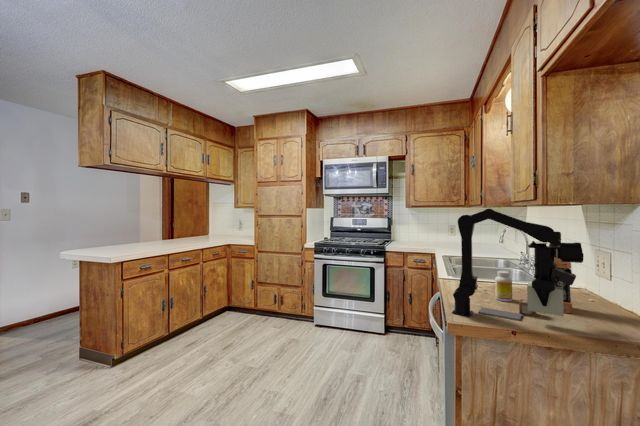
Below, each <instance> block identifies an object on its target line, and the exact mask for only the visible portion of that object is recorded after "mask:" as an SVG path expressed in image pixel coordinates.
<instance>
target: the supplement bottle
mask: <svg viewBox="0 0 640 426" xmlns="http://www.w3.org/2000/svg"><path fill="white" fill-rule="evenodd" d="M496 274H497V276H496V277H495V278H494V281H495V283H494V284H495V285H494V287H495V288H494V290H495V292H494V295H495V299H496V300H497V301H500V302H512V301H513V279H512V278H511V277H510V272H509V271H504V270H498V271H497V273H496Z"/></svg>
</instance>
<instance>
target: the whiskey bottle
mask: <svg viewBox="0 0 640 426" xmlns="http://www.w3.org/2000/svg"><path fill="white" fill-rule="evenodd" d="M554 232H555V237H556V238H557V239H558V240H560V242H561V243H562V233H561V231H554ZM548 246H554V245H552V244H550V243H549V244H548ZM555 247H558V246H555ZM554 261H555V264H556V268H558V269H562V270H563V269H565V268H568V269H571V268H572V262H561V261H560V258H559V259H557V257H556V249H554ZM552 281H553V282H554V280H552ZM555 283H556V285H555V286H556V287H563V314H565V313H566V314H573V301H572V298H571V285H569V284H567V283H566V282H563V281H560V280H558V279H557V281H556V282H555Z"/></svg>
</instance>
